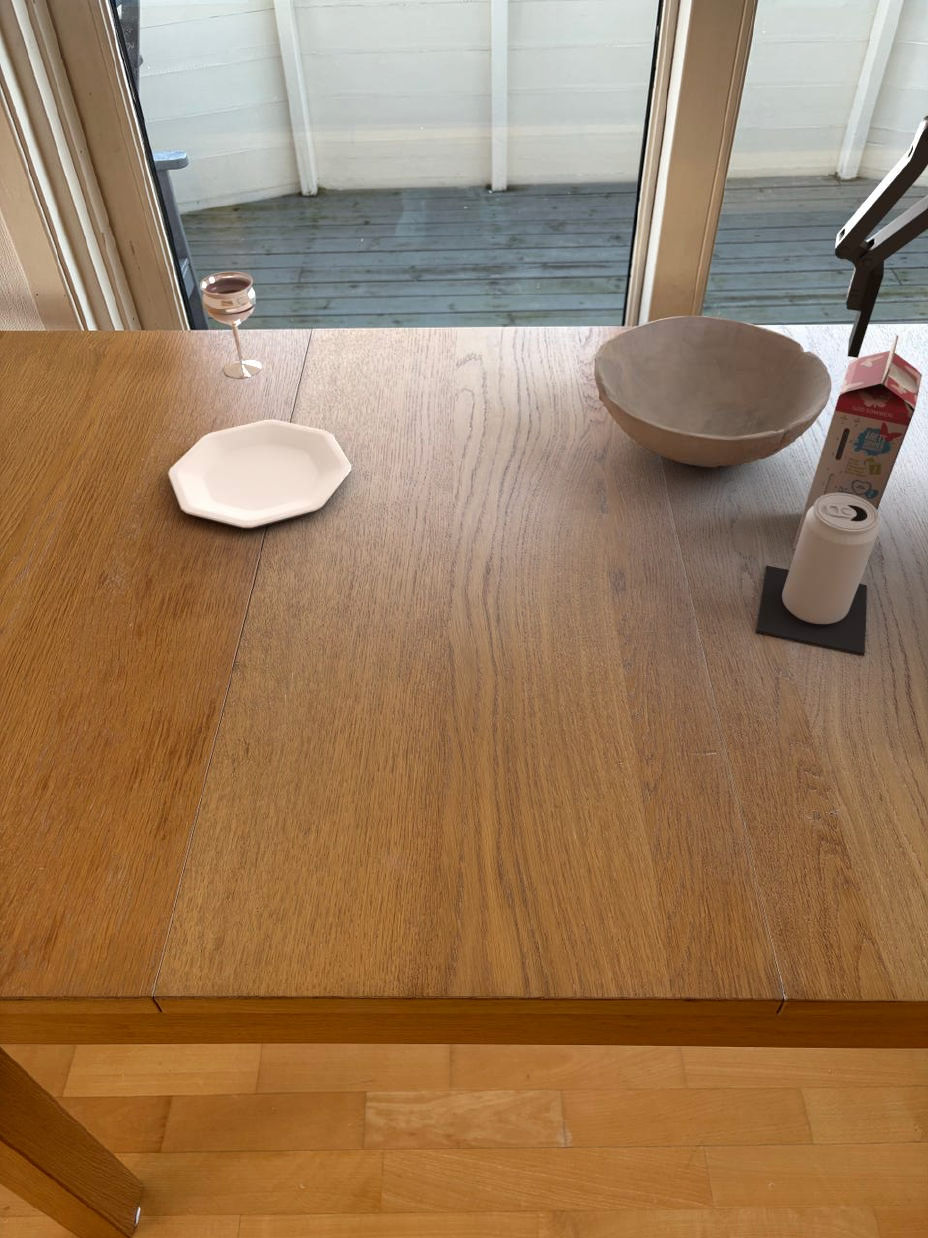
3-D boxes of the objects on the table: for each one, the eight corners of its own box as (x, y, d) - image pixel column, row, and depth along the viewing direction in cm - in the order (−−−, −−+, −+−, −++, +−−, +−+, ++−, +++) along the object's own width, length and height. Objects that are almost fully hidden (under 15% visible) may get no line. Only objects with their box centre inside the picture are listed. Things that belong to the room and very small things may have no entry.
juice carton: (865, 527, 103) (934, 341, 88) (856, 564, 99) (927, 376, 83) (803, 512, 105) (859, 328, 90) (792, 548, 101) (849, 360, 85)
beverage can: (850, 633, 91) (888, 536, 83) (781, 625, 92) (812, 528, 83) (843, 588, 95) (879, 492, 87) (777, 581, 96) (807, 485, 88)
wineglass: (207, 367, 128) (188, 282, 120) (249, 350, 131) (234, 266, 123) (235, 387, 125) (217, 300, 116) (277, 368, 128) (264, 283, 119)
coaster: (866, 587, 96) (867, 584, 96) (863, 656, 89) (865, 653, 89) (765, 567, 98) (766, 564, 98) (755, 633, 92) (756, 630, 91)
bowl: (853, 488, 108) (879, 412, 101) (634, 525, 104) (645, 448, 97) (750, 373, 126) (766, 302, 119) (560, 400, 122) (565, 328, 115)
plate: (196, 552, 101) (193, 541, 100) (159, 455, 114) (156, 444, 113) (370, 505, 106) (369, 494, 105) (317, 417, 119) (315, 407, 118)
